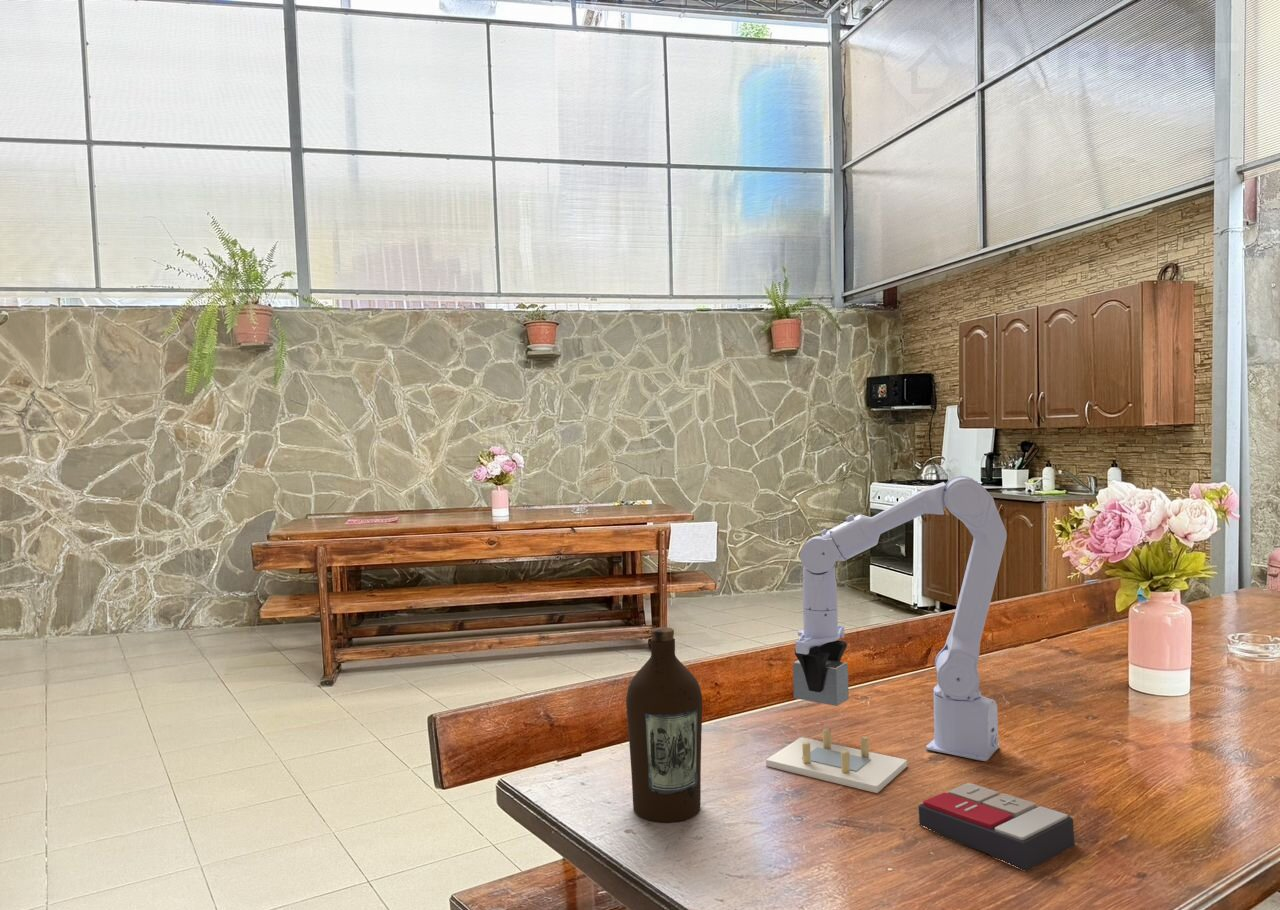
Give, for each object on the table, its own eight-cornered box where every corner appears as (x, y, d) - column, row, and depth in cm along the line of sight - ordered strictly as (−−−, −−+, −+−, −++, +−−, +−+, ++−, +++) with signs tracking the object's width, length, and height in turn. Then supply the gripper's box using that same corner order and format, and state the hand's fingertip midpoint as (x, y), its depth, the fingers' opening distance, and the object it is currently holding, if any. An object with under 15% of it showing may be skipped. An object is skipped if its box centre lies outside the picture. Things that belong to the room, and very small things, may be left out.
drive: (848, 699, 142) (847, 662, 142) (837, 706, 139) (836, 668, 139) (806, 691, 147) (805, 656, 147) (793, 698, 144) (792, 661, 144)
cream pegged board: (907, 766, 130) (906, 740, 129) (877, 793, 120) (876, 765, 120) (801, 742, 141) (800, 719, 140) (766, 765, 131) (765, 740, 131)
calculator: (967, 778, 116) (1074, 811, 104) (969, 810, 116) (1076, 846, 104) (916, 799, 110) (1023, 836, 98) (918, 832, 110) (1025, 873, 98)
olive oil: (621, 797, 121) (617, 624, 121) (692, 788, 123) (688, 619, 123) (638, 829, 111) (633, 641, 110) (715, 819, 113) (710, 635, 113)
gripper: (817, 598, 151) (819, 673, 151) (778, 612, 139) (780, 694, 140) (854, 602, 146) (856, 679, 147) (817, 617, 135) (819, 701, 135)
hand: (821, 687), depth 143 cm, fingers closed on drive, 4 cm apart
